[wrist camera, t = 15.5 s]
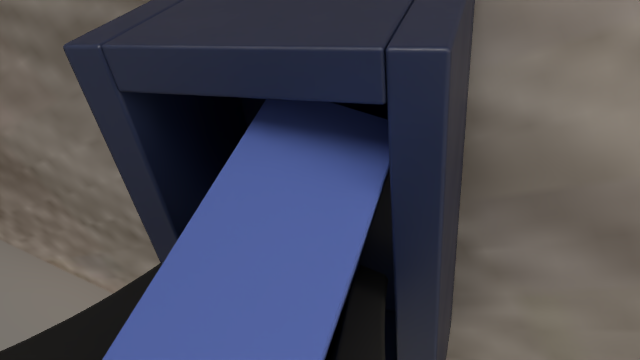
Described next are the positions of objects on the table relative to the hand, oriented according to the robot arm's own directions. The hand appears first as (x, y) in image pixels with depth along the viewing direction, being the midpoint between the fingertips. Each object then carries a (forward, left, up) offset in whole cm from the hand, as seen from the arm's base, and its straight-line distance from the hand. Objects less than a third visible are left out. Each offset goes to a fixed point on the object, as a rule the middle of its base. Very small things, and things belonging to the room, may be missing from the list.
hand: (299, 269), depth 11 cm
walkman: (0, 0, -2) cm, 2 cm away
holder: (0, 0, -4) cm, 4 cm away
